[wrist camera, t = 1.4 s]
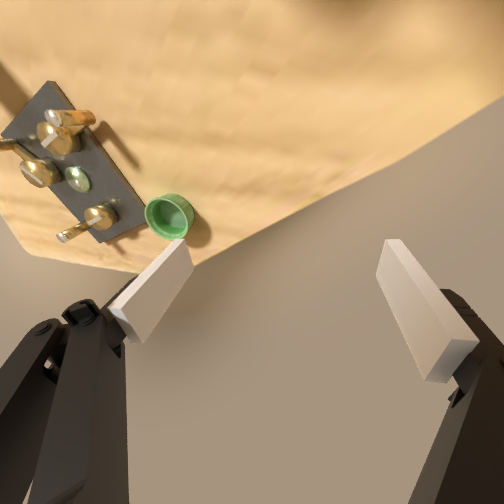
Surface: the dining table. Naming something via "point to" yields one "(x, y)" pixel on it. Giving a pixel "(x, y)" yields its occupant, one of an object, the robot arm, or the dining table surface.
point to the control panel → (79, 167)
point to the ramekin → (169, 216)
